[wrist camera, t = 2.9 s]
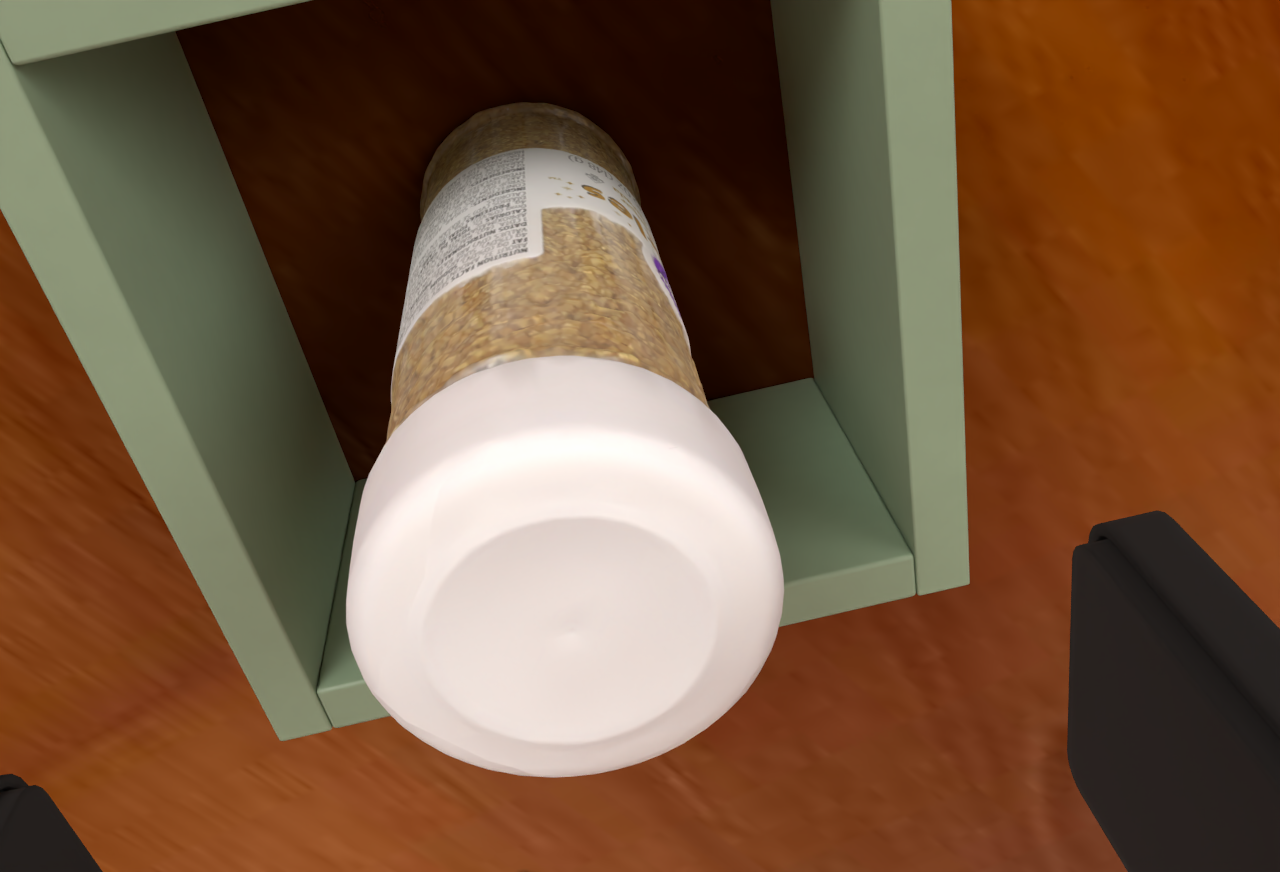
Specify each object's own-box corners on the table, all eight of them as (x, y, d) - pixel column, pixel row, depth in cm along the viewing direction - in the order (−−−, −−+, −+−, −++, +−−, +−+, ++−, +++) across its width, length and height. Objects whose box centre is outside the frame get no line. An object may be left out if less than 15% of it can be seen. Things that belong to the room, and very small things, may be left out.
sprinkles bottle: (676, 235, 23) (866, 671, 12) (500, 344, 24) (512, 853, 12) (560, 46, 21) (651, 354, 9) (369, 173, 22) (235, 602, 10)
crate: (800, -225, 19) (945, -233, 13) (858, 402, 26) (970, 584, 20) (77, -64, 19) (-111, 1, 13) (327, 522, 26) (279, 743, 20)
